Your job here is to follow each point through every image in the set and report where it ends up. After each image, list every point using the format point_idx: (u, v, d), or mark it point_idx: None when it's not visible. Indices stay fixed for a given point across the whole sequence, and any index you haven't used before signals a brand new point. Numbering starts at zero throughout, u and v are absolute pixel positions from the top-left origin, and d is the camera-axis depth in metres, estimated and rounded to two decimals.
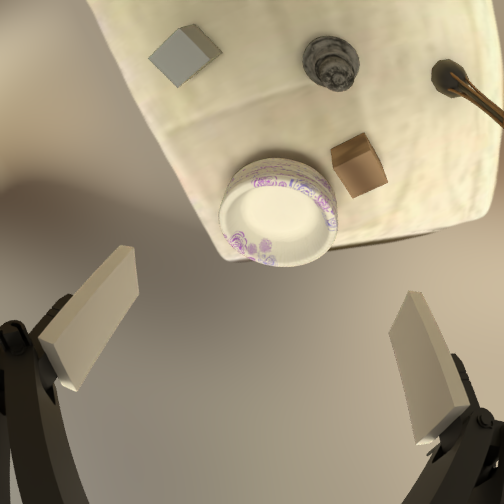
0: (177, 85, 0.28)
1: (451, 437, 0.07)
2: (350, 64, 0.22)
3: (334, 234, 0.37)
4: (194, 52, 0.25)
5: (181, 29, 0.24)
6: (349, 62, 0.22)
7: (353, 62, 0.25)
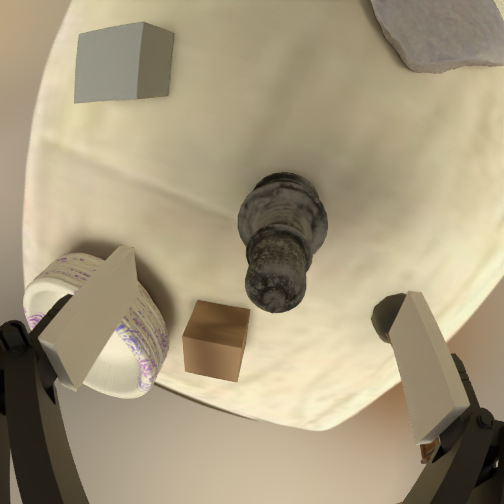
0: (76, 100, 0.15)
1: (451, 437, 0.07)
2: (307, 265, 0.16)
3: (141, 394, 0.25)
4: (127, 72, 0.14)
5: (144, 26, 0.13)
6: (308, 262, 0.16)
7: None
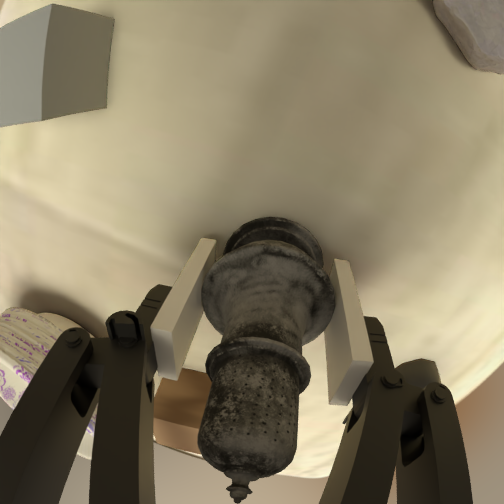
0: None
1: (360, 403, 0.09)
2: (301, 388, 0.10)
3: None
4: (30, 81, 0.08)
5: (54, 10, 0.07)
6: (303, 385, 0.09)
7: (307, 334, 0.13)
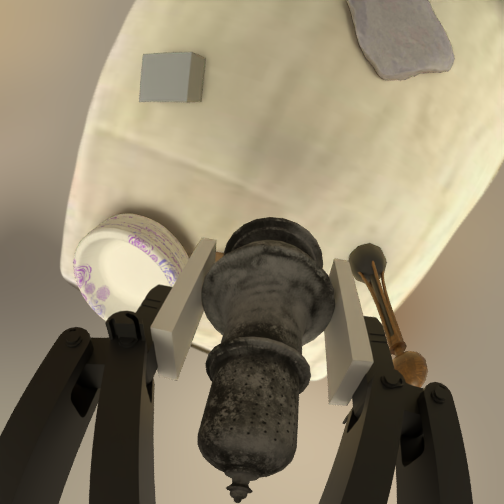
0: (141, 99, 0.25)
1: (359, 403, 0.09)
2: (301, 388, 0.10)
3: None
4: (180, 84, 0.24)
5: (192, 55, 0.23)
6: (303, 385, 0.09)
7: (307, 334, 0.13)
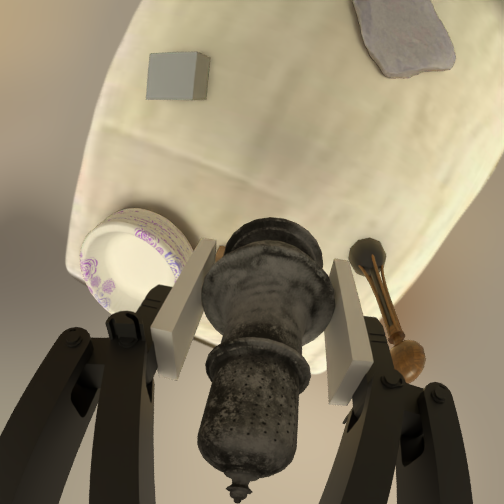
0: (148, 97, 0.26)
1: (360, 402, 0.09)
2: (301, 388, 0.10)
3: None
4: (186, 83, 0.25)
5: (197, 54, 0.24)
6: (303, 385, 0.09)
7: (307, 334, 0.13)
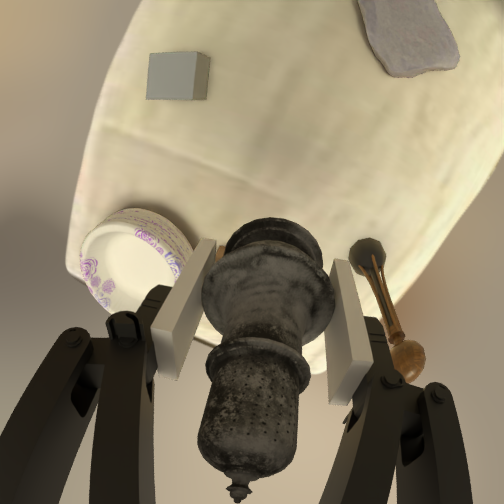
0: (147, 97, 0.26)
1: (360, 402, 0.09)
2: (301, 388, 0.10)
3: None
4: (186, 82, 0.25)
5: (197, 54, 0.24)
6: (303, 385, 0.09)
7: (307, 334, 0.13)
